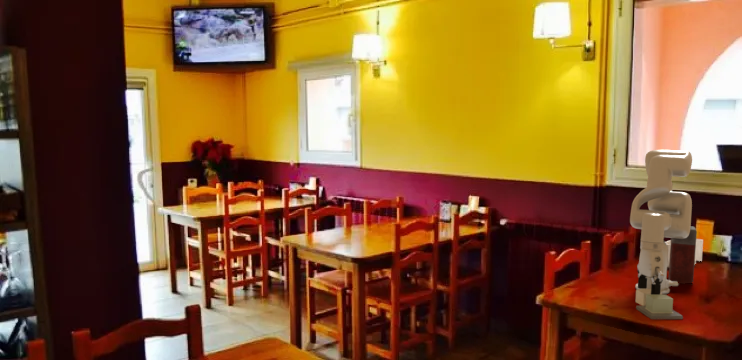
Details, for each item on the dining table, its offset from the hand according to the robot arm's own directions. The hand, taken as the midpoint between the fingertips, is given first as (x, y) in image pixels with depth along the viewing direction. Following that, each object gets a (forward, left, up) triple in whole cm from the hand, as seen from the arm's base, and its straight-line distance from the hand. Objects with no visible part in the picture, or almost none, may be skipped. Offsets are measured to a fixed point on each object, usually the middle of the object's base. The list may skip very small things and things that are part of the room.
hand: (648, 291), depth 217 cm
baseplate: (+1, +10, -5) cm, 12 cm away
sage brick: (+1, +10, -4) cm, 11 cm away
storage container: (-49, -63, -5) cm, 80 cm away
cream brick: (-1, -1, -5) cm, 5 cm away
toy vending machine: (-32, -34, -5) cm, 47 cm away
